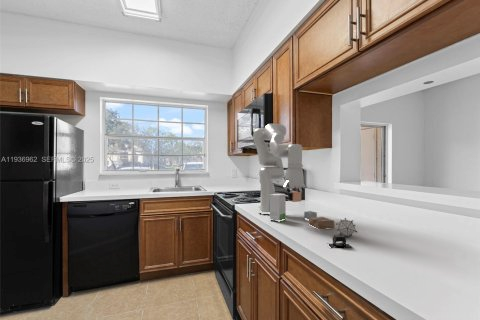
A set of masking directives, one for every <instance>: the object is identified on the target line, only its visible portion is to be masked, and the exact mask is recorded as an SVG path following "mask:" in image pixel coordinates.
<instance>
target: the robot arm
mask: <svg viewBox="0 0 480 320" xmlns="http://www.w3.org/2000/svg"><path fill="white" fill-rule="evenodd" d="M286 135H287V128H286V126H285V125H284V124H282V123H281V124H279V123H268V124H267V125H265V127H260V128H259V127H258V128H256V129H255V130H254V131H253V135H252V138H253V142H254V146H255V149H256V152H257V156H258V162H259V164H260V165H261V166H262V167H261V168H260V169H259V171H258V172H259V173H258V175H259V181H260V206H259V207H258V208H259V211H260V210H261V211H262V212H270V194H276V193H275V192H276V191H275V188H276V187H275V184H274V183H273V182H275V181H278V182H279V181H283V180H284V185H283V187H282V188H283V189H284V190H285V191H286V193H287V201H288V200H291V201H290V202H292V200H293V193H292V191H294V188H295V189H296V191H297V192H301V194H302V193H303V190H304V189H305V188H306V187H307V186H306V184H305V183H304V181H305V179H304V171H303V167H304V165H303V146H302V144H300V143H299V144H298V143H294V144H293V143H291V144H283V142H284V140H285V136H286ZM266 141H269V144H267V143H266ZM283 158H285V159H287V169H286V170H285V169H284V164H283V160H282V159H283Z"/></svg>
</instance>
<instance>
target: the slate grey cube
mask: <svg viewBox="0 0 480 320" xmlns="http://www.w3.org/2000/svg"><path fill="white" fill-rule="evenodd" d="M303 214H304V215H303V216H304V218H307V219H309V218H313V217H318V215H317V214H318V212H316V211H313V210H312V211H311V210H308V211H304V213H303ZM304 218H303V219H304Z"/></svg>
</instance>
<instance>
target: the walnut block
mask: <svg viewBox="0 0 480 320" xmlns="http://www.w3.org/2000/svg"><path fill="white" fill-rule="evenodd" d="M309 224H310V225H312V226H314V227H316V228H318V229H326V228H334V229H335V220H334V219H331V218H327V217H325V216H317V217H313V218H309V221H308V225H309ZM316 228H315V229H316ZM318 229H317V230H318ZM326 230H327V229H326Z"/></svg>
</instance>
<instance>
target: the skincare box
mask: <svg viewBox="0 0 480 320" xmlns="http://www.w3.org/2000/svg"><path fill="white" fill-rule="evenodd" d="M286 210H287V209H286V194H285V193H275V194H270V215H269V219H273V220H282V219H285V218H286V217H287V215H286V214H287V213H286Z"/></svg>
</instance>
